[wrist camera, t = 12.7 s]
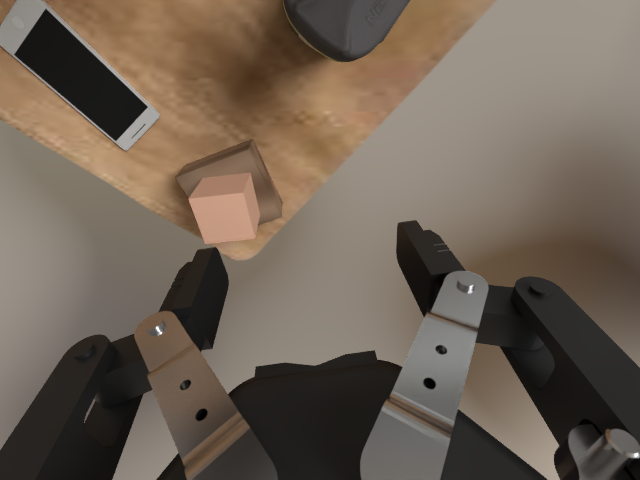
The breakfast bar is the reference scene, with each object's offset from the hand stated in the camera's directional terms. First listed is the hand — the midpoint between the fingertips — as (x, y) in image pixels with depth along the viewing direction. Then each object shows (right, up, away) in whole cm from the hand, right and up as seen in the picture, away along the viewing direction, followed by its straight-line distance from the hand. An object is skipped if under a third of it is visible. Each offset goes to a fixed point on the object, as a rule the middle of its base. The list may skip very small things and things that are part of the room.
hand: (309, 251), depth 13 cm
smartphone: (-27, +19, +22) cm, 40 cm away
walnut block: (-12, +9, +30) cm, 33 cm away
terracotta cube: (-11, +6, +26) cm, 28 cm away
